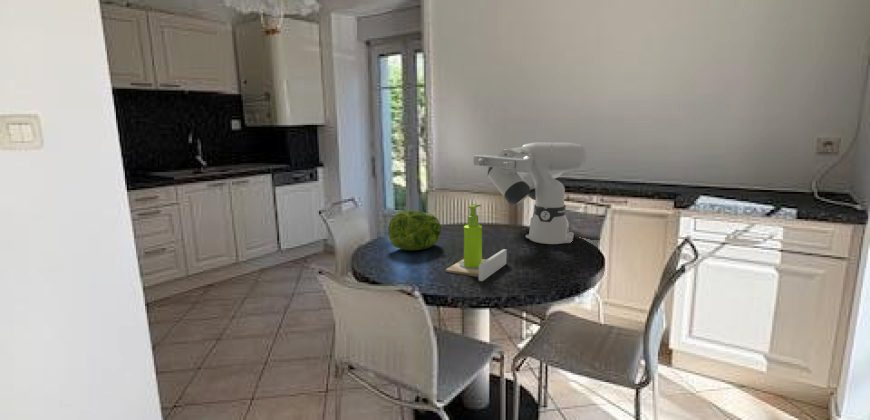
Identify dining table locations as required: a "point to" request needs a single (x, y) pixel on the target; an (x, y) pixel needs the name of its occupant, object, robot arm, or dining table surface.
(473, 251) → the soap dispenser
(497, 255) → the low wall
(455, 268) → the oak board
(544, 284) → the dining table surface
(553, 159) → the robot arm
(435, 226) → the lettuce
